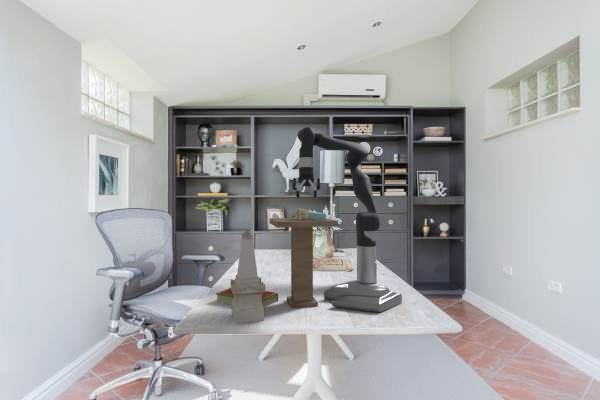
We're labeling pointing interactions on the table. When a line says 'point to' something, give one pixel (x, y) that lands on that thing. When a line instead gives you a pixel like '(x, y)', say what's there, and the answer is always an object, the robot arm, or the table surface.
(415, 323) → the table surface
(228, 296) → the hardcover book
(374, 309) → the striped bevelled slab
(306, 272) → the shelf stand
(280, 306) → the table surface
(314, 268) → the mottled tan slab
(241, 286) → the miniature monument
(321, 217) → the slat
